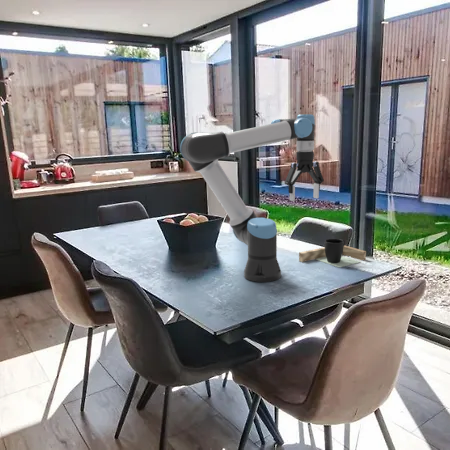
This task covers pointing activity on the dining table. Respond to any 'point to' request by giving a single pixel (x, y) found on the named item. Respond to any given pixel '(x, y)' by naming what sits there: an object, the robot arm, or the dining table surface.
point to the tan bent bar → (321, 253)
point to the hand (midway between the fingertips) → (304, 199)
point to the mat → (342, 263)
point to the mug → (334, 250)
